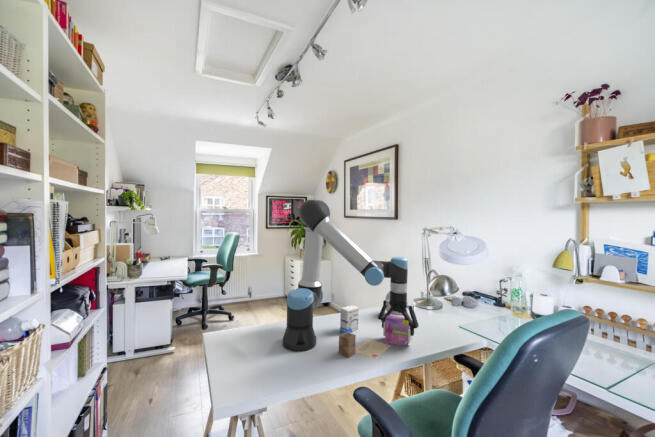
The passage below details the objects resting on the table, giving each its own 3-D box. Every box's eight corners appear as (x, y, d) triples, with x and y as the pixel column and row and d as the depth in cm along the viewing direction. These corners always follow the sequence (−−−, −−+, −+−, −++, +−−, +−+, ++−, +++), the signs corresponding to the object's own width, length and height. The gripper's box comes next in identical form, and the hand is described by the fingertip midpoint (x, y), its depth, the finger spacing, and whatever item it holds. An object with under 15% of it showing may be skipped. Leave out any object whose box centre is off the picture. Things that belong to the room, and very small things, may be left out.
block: (338, 354, 125) (339, 335, 125) (345, 350, 129) (345, 331, 129) (348, 358, 122) (349, 339, 122) (355, 353, 126) (355, 335, 126)
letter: (352, 351, 128) (352, 350, 128) (369, 339, 140) (369, 338, 140) (375, 359, 122) (375, 358, 122) (391, 346, 134) (391, 345, 134)
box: (384, 342, 137) (385, 317, 137) (386, 337, 142) (387, 313, 142) (408, 346, 133) (409, 320, 133) (409, 341, 139) (410, 316, 138)
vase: (383, 311, 178) (384, 284, 178) (406, 313, 177) (406, 285, 176) (385, 319, 166) (385, 289, 165) (408, 321, 164) (409, 291, 163)
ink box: (346, 334, 145) (347, 310, 145) (339, 331, 149) (340, 308, 148) (358, 330, 151) (359, 307, 150) (351, 327, 154) (352, 304, 154)
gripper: (371, 288, 141) (370, 334, 142) (421, 298, 127) (420, 348, 128) (378, 285, 147) (377, 329, 148) (427, 294, 133) (425, 342, 134)
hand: (397, 338), depth 138 cm, fingers closed on box, 11 cm apart
